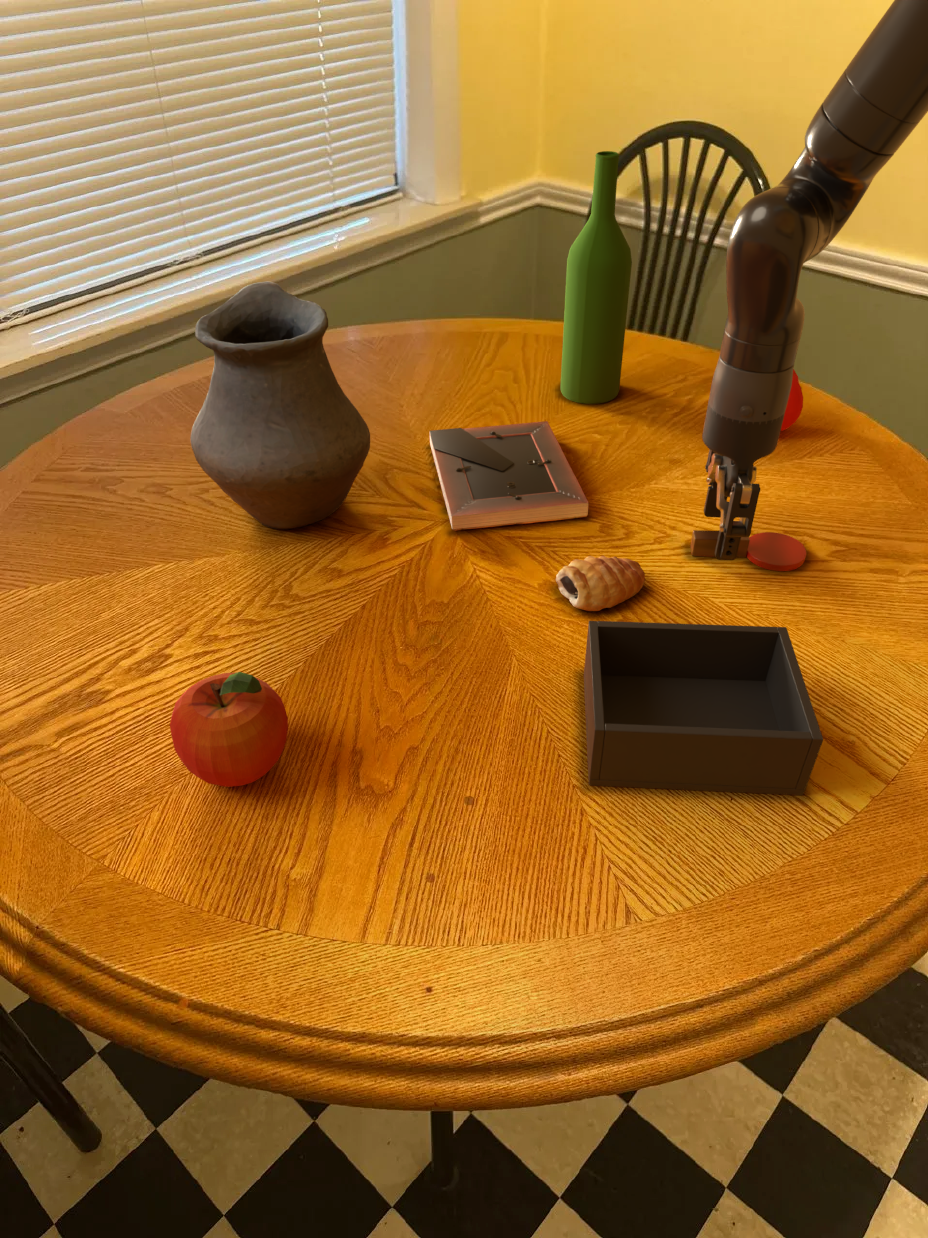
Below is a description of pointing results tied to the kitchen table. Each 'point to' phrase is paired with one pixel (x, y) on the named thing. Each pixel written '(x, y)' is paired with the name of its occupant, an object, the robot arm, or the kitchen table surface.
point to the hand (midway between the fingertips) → (718, 536)
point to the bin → (697, 708)
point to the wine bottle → (596, 296)
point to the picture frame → (505, 476)
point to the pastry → (600, 581)
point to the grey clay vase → (276, 410)
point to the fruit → (229, 729)
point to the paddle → (756, 549)
